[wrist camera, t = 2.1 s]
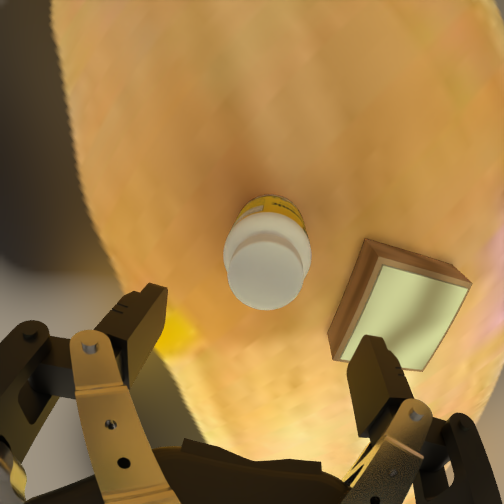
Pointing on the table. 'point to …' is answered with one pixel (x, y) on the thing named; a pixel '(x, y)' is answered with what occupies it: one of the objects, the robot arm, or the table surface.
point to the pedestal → (398, 304)
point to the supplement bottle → (267, 253)
